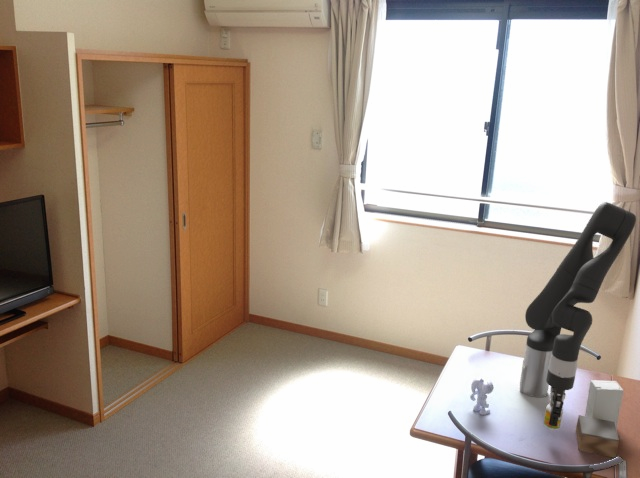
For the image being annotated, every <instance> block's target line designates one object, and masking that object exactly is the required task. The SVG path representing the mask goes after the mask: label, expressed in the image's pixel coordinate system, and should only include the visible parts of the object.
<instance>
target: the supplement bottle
mask: <svg viewBox="0 0 640 478" xmlns="http://www.w3.org/2000/svg"><path fill="white" fill-rule="evenodd" d="M549 399H550V398H549ZM550 401H551V399H550V400H549V403H548V404H547V405H546V406H545V407H546V409H545V413H544V418H543V426H544V427H546V428H547V429H549V430H551V431H557V430H559V429H560V428H561V424H562V418H563V413H564V409H563V408H562V411H561V417H560V418H559V417H558V422H557V426H556V427H555V426H551V425H549V420H550V414H551V413H550V411H551V406H550Z"/></svg>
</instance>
